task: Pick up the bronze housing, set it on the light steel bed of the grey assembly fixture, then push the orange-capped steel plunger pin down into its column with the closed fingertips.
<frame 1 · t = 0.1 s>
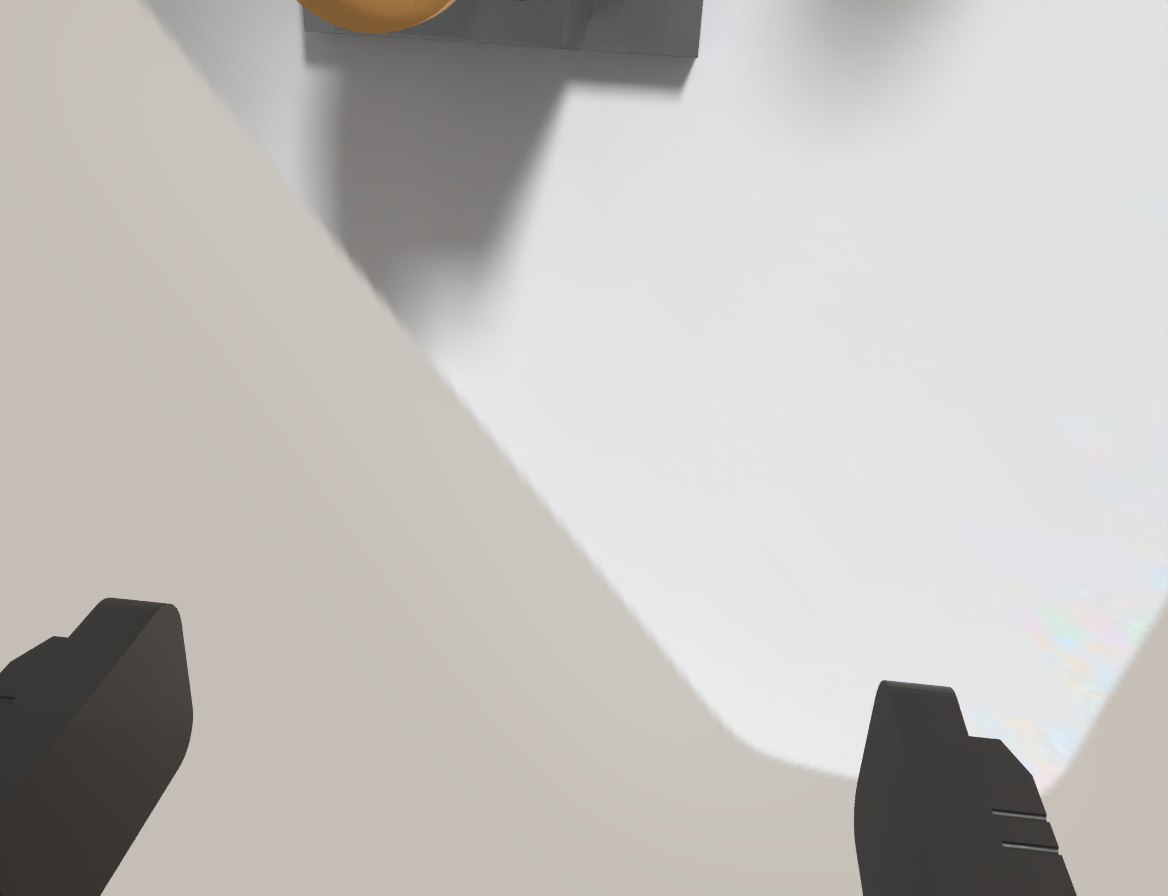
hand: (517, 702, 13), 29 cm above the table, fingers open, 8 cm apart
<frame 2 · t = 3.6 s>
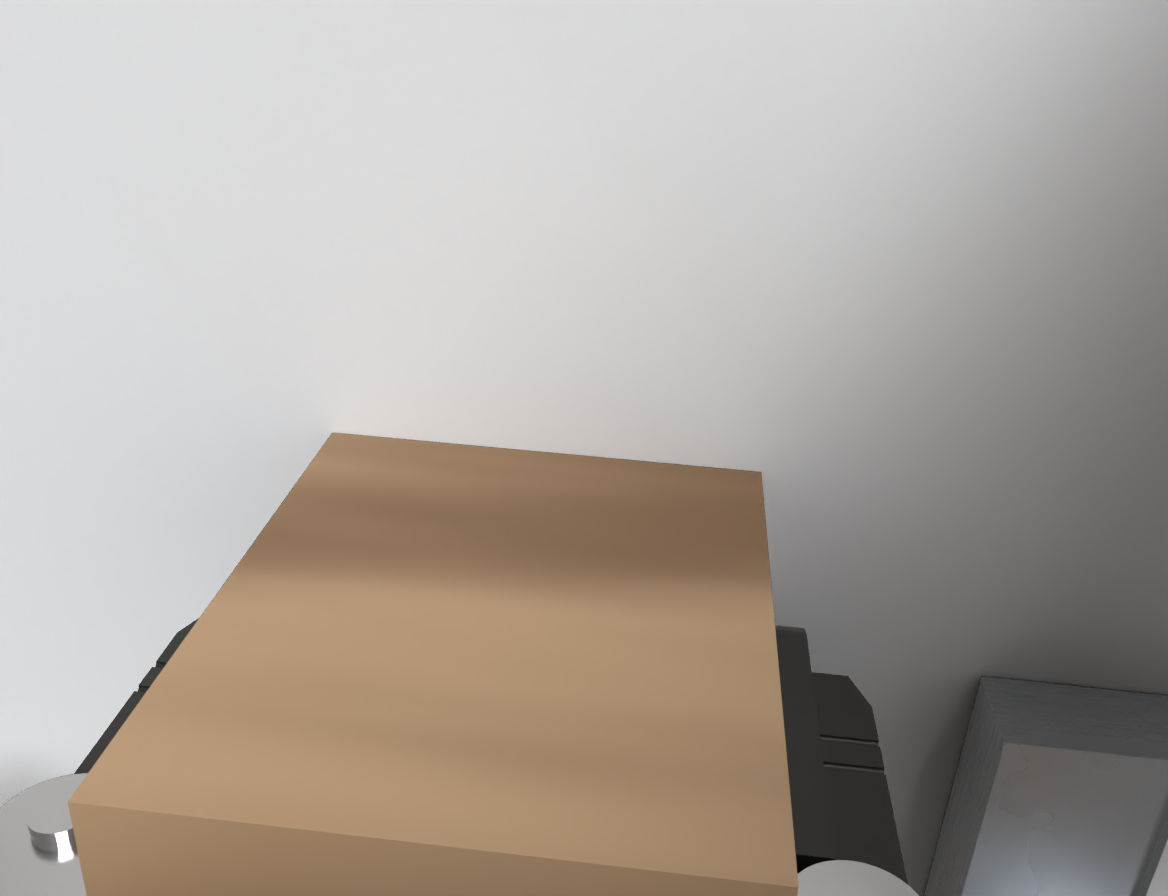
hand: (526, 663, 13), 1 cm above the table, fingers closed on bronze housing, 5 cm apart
bronze housing: (536, 630, 14), on the table, touching gripper
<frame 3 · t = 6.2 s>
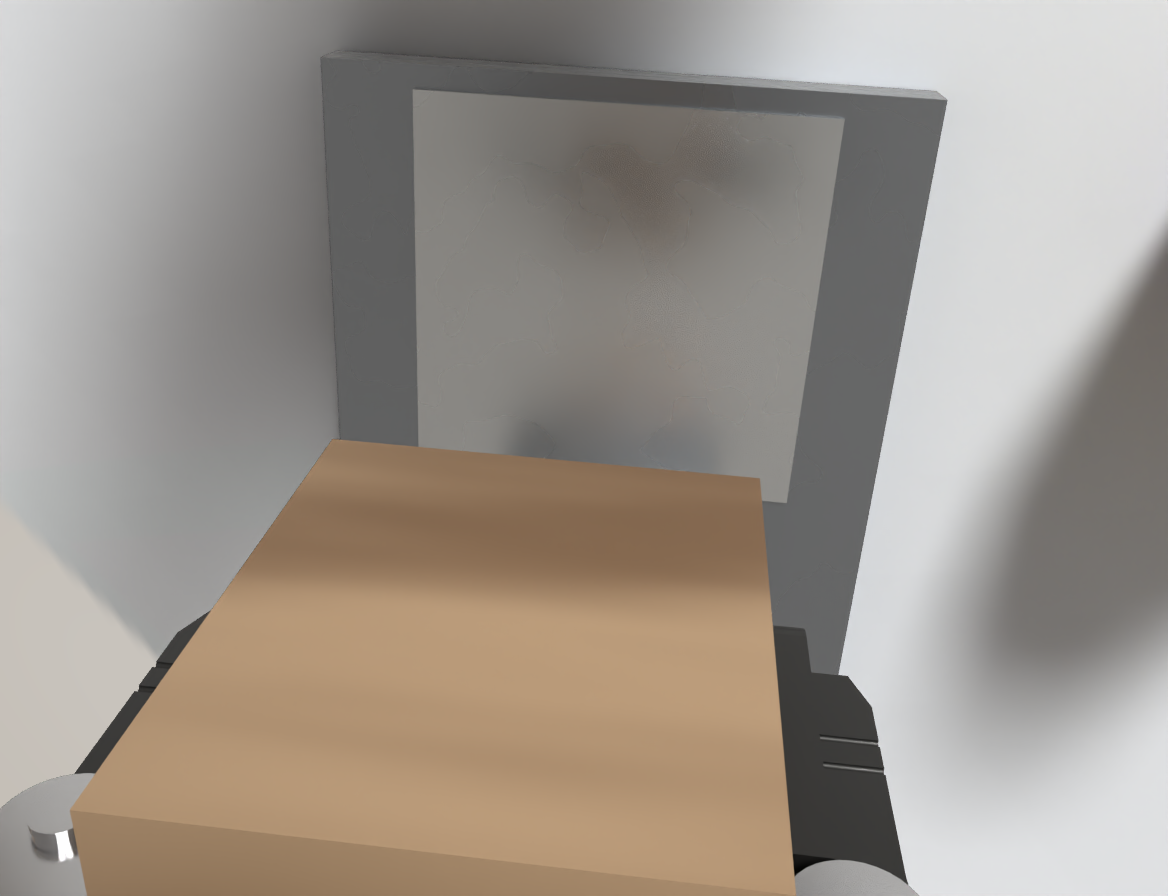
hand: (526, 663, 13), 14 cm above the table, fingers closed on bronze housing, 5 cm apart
bronze housing: (536, 635, 14), point 14 cm above the table, touching gripper
grey assembly fixture: (606, 443, 28), on the table
when the fingers open (3 cm above the table, at t = 8.6 s): bronze housing stays where it is, resting on grey assembly fixture.
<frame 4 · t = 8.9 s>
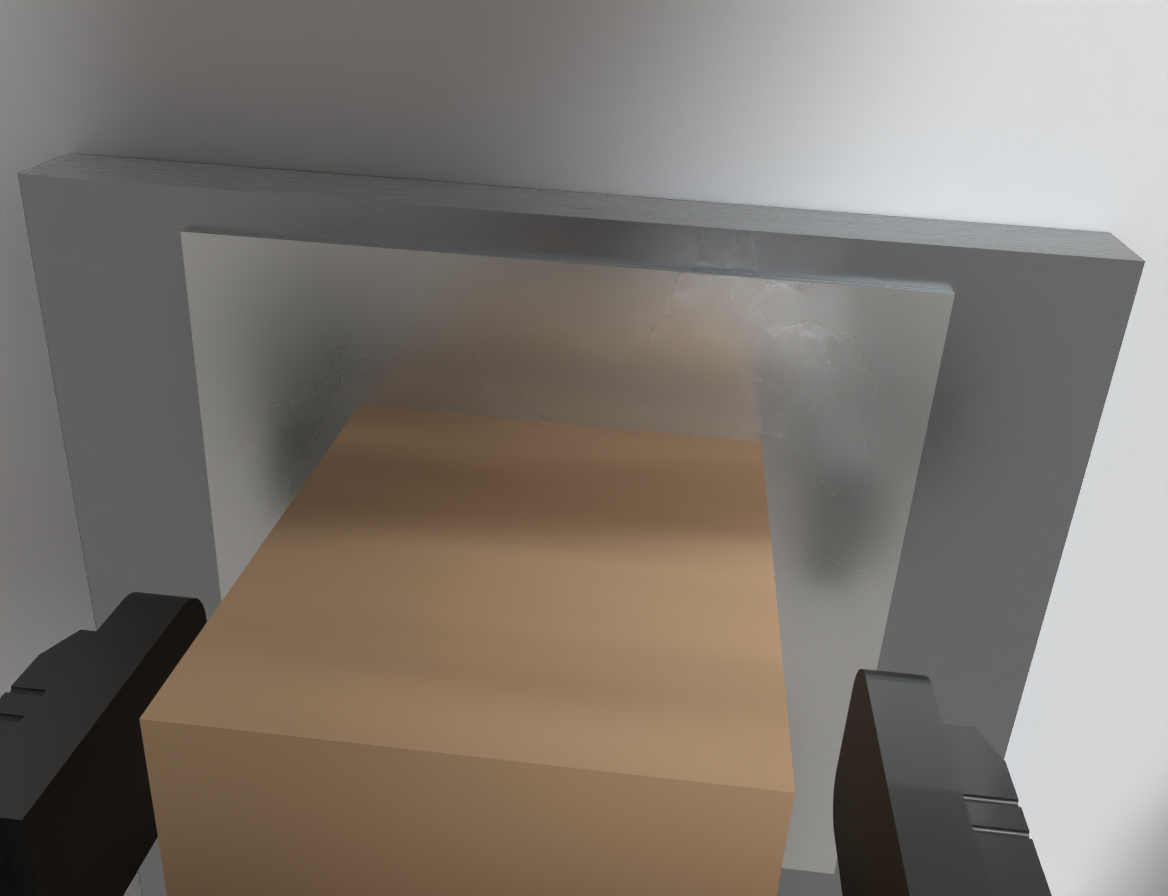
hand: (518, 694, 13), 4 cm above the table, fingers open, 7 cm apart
bronze housing: (550, 592, 15), point 1 cm above the table, touching grey assembly fixture
grey assembly fixture: (546, 752, 18), on the table
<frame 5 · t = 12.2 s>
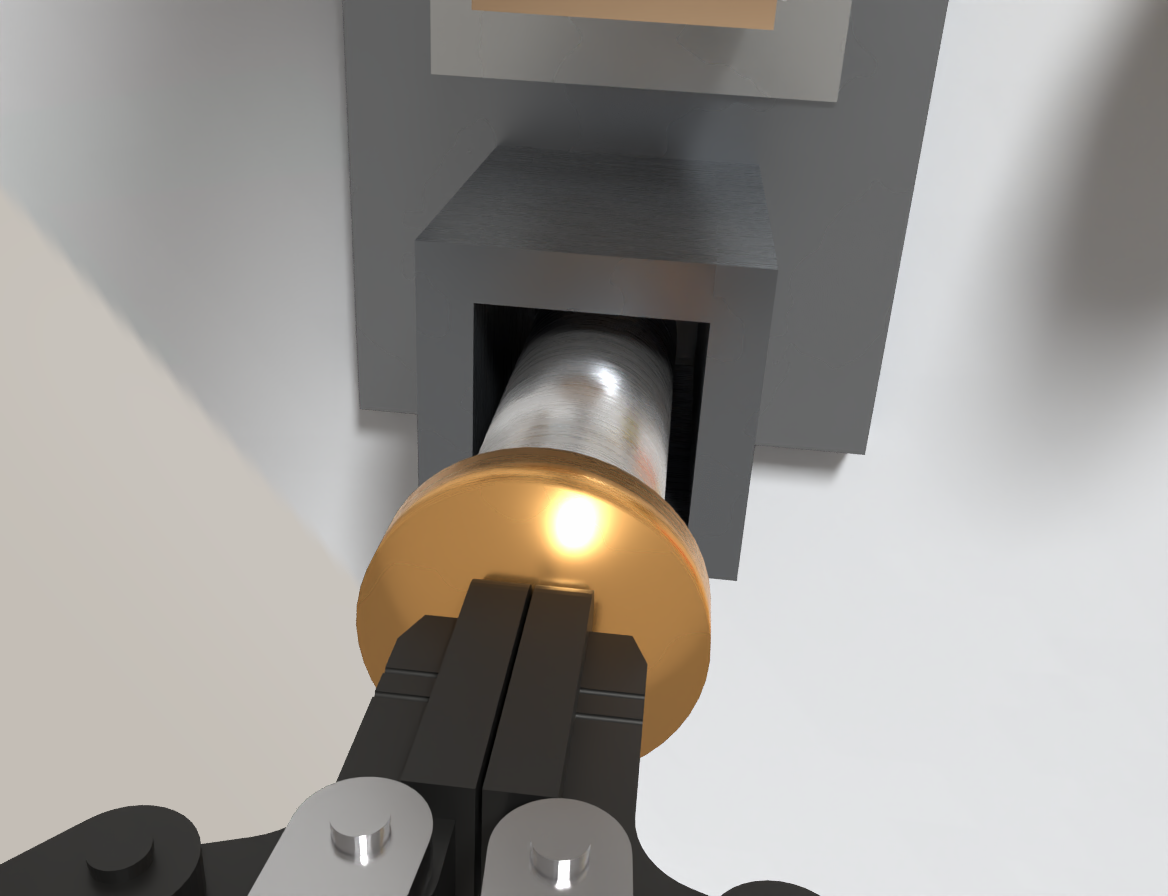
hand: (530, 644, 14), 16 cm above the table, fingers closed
plunger: (578, 447, 19), point 10 cm above the table, slide at 0.7 cm, touching gripper
grey assembly fixture: (636, 56, 26), on the table
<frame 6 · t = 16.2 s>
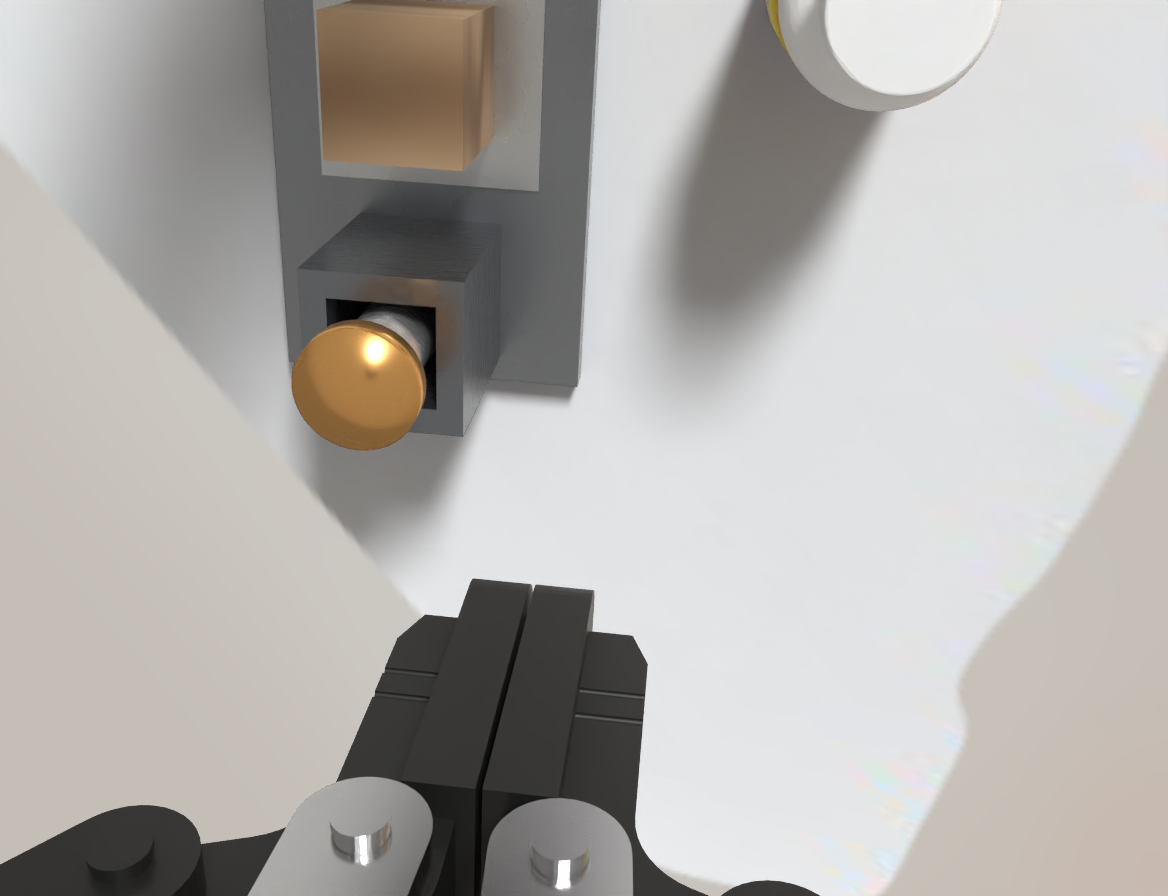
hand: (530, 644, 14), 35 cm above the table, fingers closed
plunger: (396, 335, 42), point 7 cm above the table, slide at 3.9 cm
bronze housing: (430, 69, 44), point 1 cm above the table, touching grey assembly fixture
grey assembly fixture: (436, 164, 46), on the table
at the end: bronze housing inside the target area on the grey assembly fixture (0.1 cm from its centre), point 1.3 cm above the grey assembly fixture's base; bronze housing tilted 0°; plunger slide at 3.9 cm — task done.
